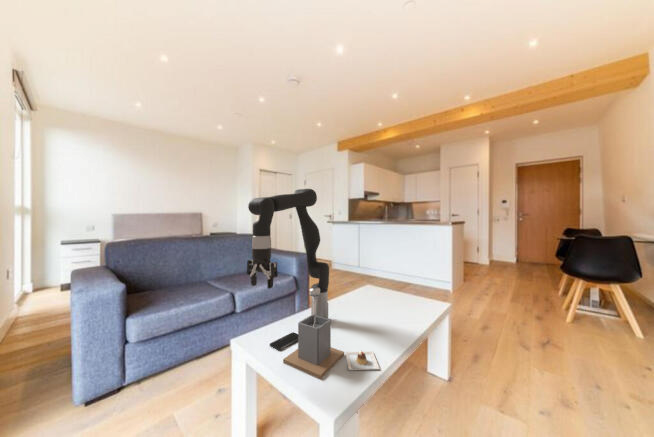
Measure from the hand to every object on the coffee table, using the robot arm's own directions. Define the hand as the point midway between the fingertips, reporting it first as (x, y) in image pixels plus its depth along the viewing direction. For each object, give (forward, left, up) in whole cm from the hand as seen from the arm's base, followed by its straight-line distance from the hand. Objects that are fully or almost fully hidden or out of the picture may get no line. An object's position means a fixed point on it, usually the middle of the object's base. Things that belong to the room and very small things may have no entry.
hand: (261, 286), depth 96 cm
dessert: (-22, +34, -31) cm, 51 cm away
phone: (-17, -2, -31) cm, 35 cm away
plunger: (-13, +17, -18) cm, 28 cm away
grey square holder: (-13, +17, -30) cm, 37 cm away
